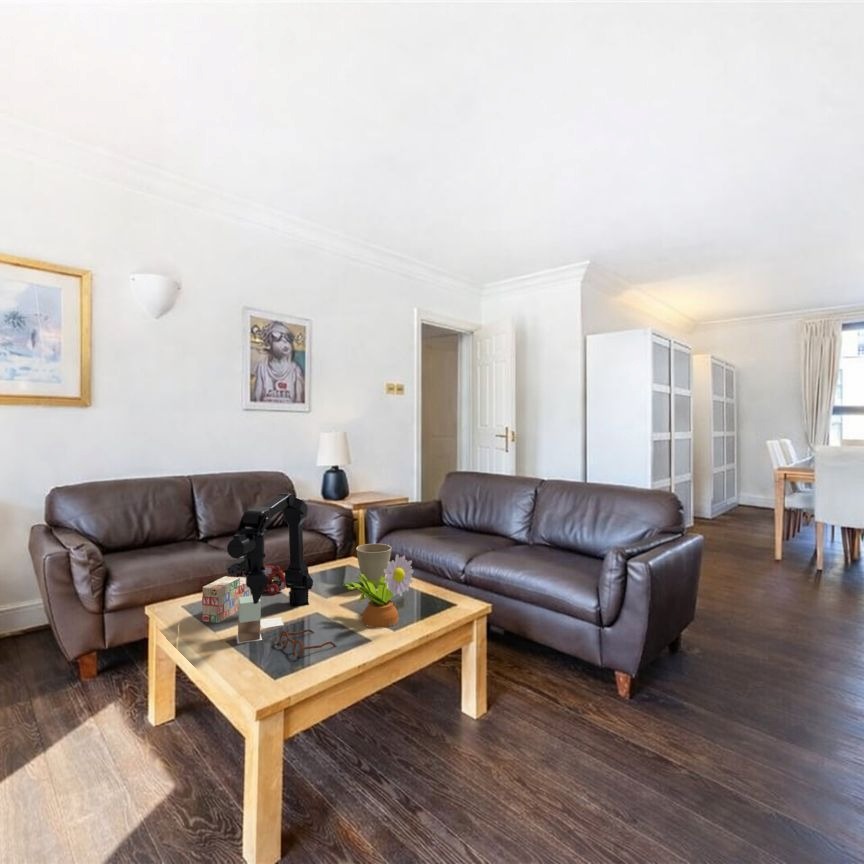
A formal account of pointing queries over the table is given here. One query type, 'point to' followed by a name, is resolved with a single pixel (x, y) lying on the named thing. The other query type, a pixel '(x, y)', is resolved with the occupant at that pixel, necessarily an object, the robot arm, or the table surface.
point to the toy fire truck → (278, 579)
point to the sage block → (249, 609)
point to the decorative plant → (384, 593)
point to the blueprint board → (265, 624)
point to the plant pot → (373, 560)
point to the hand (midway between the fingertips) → (254, 598)
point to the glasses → (300, 641)
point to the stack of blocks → (223, 598)
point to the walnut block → (248, 630)
